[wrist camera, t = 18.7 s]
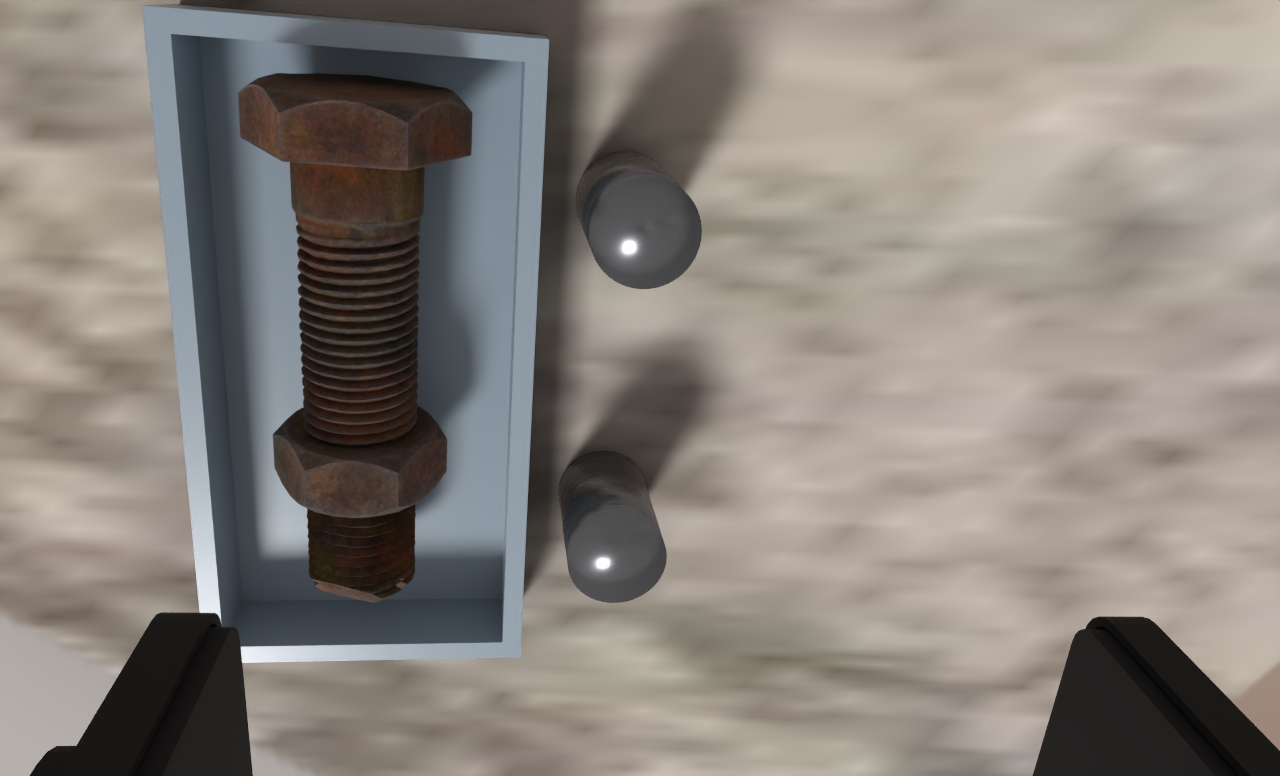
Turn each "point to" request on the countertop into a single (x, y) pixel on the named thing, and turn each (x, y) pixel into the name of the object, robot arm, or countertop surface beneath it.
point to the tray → (270, 336)
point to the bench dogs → (606, 481)
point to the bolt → (358, 311)
